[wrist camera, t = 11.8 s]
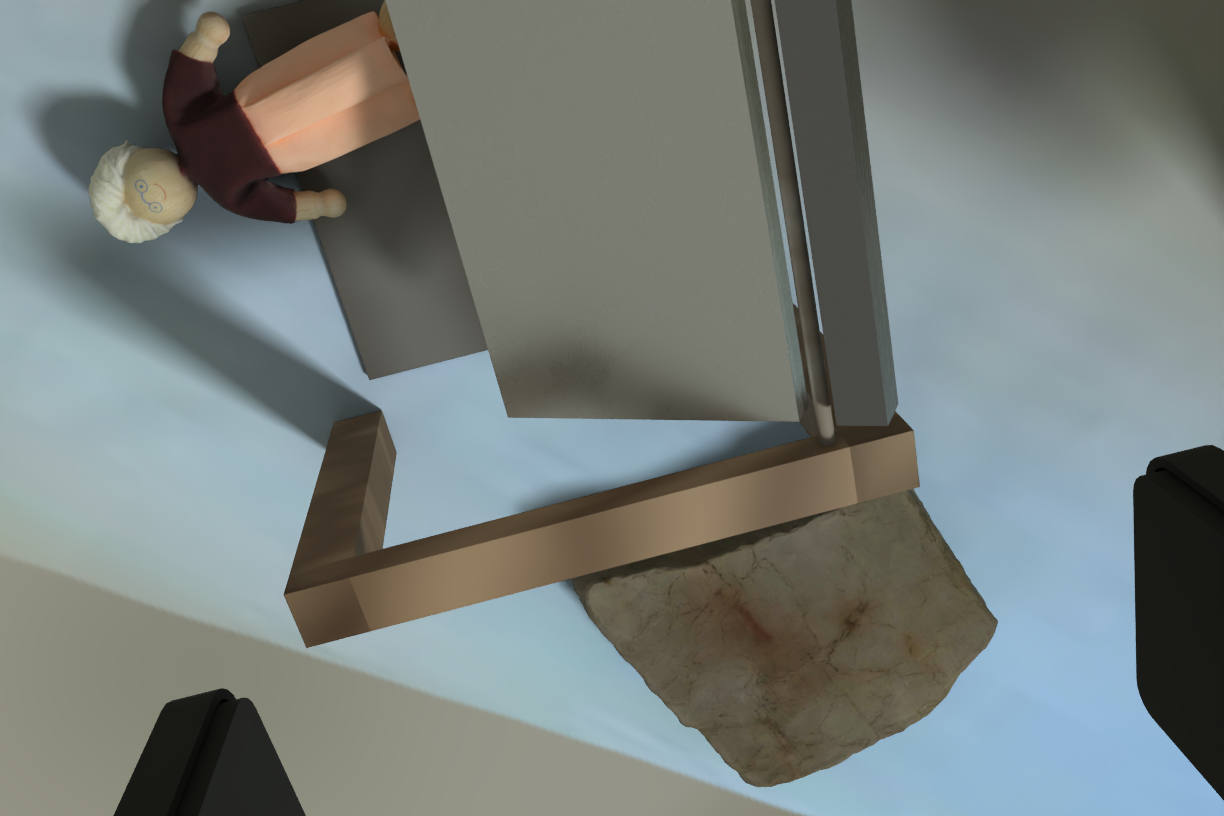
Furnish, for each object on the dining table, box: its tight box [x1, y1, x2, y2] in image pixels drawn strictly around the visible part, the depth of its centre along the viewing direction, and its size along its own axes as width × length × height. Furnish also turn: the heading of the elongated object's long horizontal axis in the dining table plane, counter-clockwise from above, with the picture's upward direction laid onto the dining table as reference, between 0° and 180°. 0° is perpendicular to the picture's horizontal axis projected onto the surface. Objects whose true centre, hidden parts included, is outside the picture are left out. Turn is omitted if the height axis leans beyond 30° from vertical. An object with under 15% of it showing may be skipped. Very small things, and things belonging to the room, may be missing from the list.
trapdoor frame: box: [242, 0, 920, 648], centre depth 33 cm, size 20×21×13 cm
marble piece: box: [571, 489, 998, 787], centre depth 47 cm, size 17×15×4 cm
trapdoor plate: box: [385, 0, 898, 426], centre depth 30 cm, size 13×15×1 cm
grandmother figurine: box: [89, 0, 420, 243], centre depth 36 cm, size 8×4×13 cm
